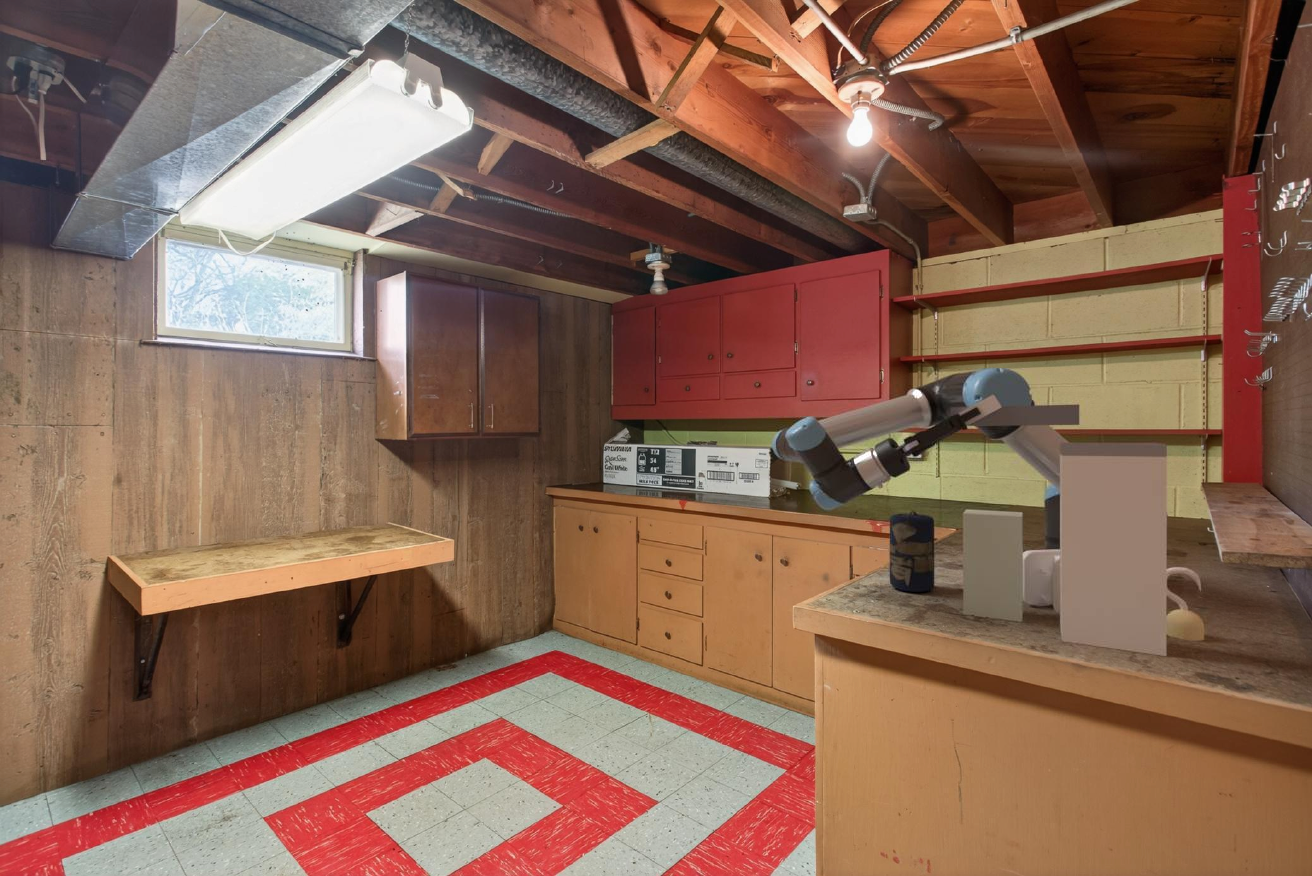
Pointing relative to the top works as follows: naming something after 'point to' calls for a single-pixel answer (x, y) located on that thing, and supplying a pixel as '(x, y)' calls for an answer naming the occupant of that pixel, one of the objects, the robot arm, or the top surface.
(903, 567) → the canister
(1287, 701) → the top surface
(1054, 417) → the bar
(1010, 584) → the shelf
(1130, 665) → the top surface
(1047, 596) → the cable organizer
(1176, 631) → the hook
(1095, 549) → the socket tower
